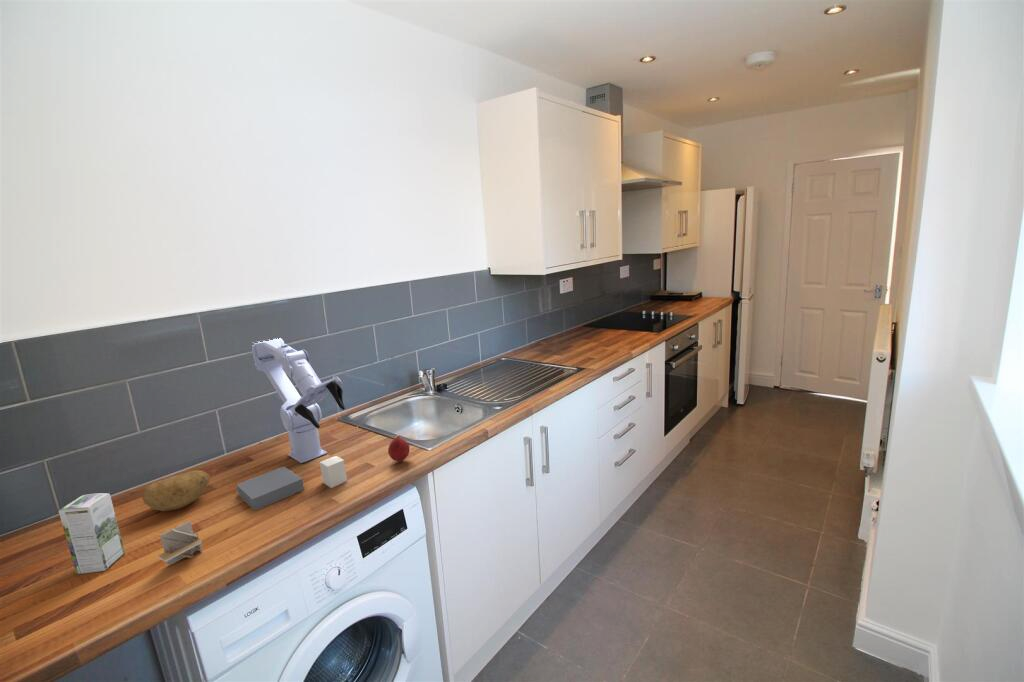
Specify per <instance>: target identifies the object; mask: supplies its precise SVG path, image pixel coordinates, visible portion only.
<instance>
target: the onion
mask: <svg viewBox="0 0 1024 682" xmlns="http://www.w3.org/2000/svg"><path fill="white" fill-rule="evenodd" d="M387 451H388V452H387V453H388V456H389V457H390V458H391V460H393V461H394V462H397V463H403V461H404V460H405V459H406V458H407V457H408V456H409V455H410V445H409V443H408V442H407V441H406V440H405V439H403V438H401V436H400V435H399V434H397V435H395V438H394V439H393V440H392V441H391V442H389V445H388V448H387Z"/></svg>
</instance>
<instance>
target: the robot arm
mask: <svg viewBox="0 0 1024 682" xmlns="http://www.w3.org/2000/svg"><path fill="white" fill-rule="evenodd" d="M276 338H277V339H276ZM276 338H272V339H273V340H270V339H268V340H269V341H265V340H262V341H263V342H260V341H257V342H258V343H254V342H253V343H254V345H252V352H253V358H254V361H255V366H256V367H257V368H256V367H255V366H254V367H255V368H256V370H257V371H260V372H263V373H264V374H265V376H266V378H267V380H268V381H269V382H270V383H271V385H272V386H273V388H274V390H275V391H276V393H277V394H278V396H279V398H280V399H281V401H282V403H283V404H282V405H281V406H280V411H279V416H280V419H281V420H282V424H283V428H285V430H286V431H288V440H289V444H290V445H289V446H290V452H289V453H288V456H289V457H290V458H292V459H294V460H295V461H296V462H299V463H300V464H302V463H307V462H308V461H311V460H314V459H316V458H318V457H321V456H324V455H327V453H328V452H327V451H326V450H324V449H322V447H321V446H322V445H321V441H320V435H319V428H321V426H320V422H321V421H322V417H323V415H322V414H323V413H322V410H321V407H320V405H319V404H318V403H320V402H321V401H323V400H324V399H325V398H326V397H327V396H328V394H329V393H330V394H331V395H332V397H333V398H334V400H335V402H336V404H337V406H338V407H339V408H340V409H341V410H342V411H344V410H346V408H345V404H344V399H343V394H344V393H343V391H344V390H343V388H342V387H341V385H343V384H344V382H343V381H342V380H341V379H340V377H338V375H336V376H334V377H332V378H330V379H328V380H326V381H323V382H322V381H321V379H320V378H319V377H318V375H317V373H316V372H315V369H314V368H313V367H312V366H311V360H310V359H311V358H310V355H309V354H308V351H307V350H305V349H301V350H296V349H294V347H291V346H290V345H289V344H287V343H285V341H284V340H283V338H281V337H280V338H279V339H278V337H276ZM268 358H274V360H270V361H264V362H262V361H260V360H262V359H268ZM289 378H290V379H293V382H294V383H295V384H296V386H297V389H298V390H299V391H300V393H301V395H302V396H301V395H300V394H299V392H298V390H297V389H296V387H295V386H294V384H293V382H292V381H291V380H290V379H289Z"/></svg>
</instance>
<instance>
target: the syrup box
mask: <svg viewBox="0 0 1024 682" xmlns="http://www.w3.org/2000/svg"><path fill="white" fill-rule="evenodd" d="M58 513H59V517H60V522H61V524H62V528H63V532H64V535H65V539H66V543H67V545H68V549H69V553H70V555H71V556H70V557H71V560H72V563H73V566H74V570H75V573H76V575H83V574H90V573H98V572H105V571H107V570H108V569H109V568H110V567H111V566H113V565H114V564H115V563H116V562H117V561H118V560H119V559H120V558H122V557H123V555H125V548H124V545H123V540H122V536H121V533H120V532H121V531H120V528H119V525H118V522H117V521H118V520H117V517H116V513H115V510H114V504H113V501H112V498H111V494H110V493H107V492H105V493H103V492H100V493H90V494H89V493H87V494H83V495H81V496H79V497H77V498H76V499H75V500H73V501H71V502H70V503H68V504H67V505H65V506H64V507H62V508H60V509H59V510H58Z"/></svg>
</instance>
